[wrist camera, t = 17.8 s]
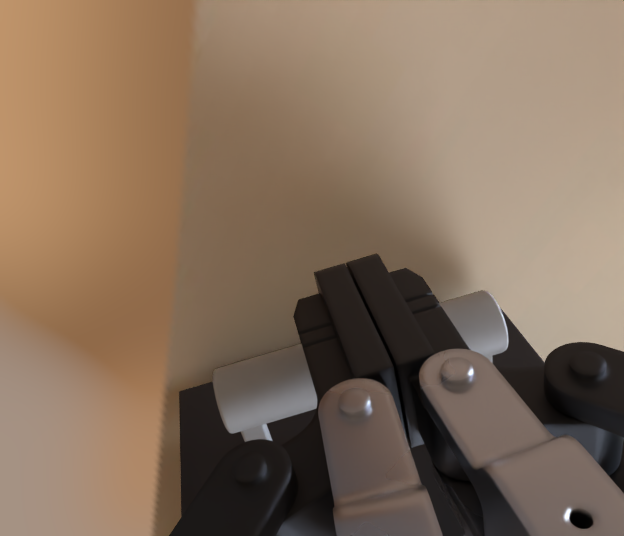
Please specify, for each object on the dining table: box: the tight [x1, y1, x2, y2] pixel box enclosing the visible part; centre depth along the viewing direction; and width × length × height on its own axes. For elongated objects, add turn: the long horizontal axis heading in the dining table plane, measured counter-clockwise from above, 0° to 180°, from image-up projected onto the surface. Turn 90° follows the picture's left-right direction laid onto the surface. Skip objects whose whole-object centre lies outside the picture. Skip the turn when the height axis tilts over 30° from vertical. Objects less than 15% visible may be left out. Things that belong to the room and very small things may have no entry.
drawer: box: [179, 290, 545, 536], centre depth 20 cm, size 19×11×8 cm, turn 11°
